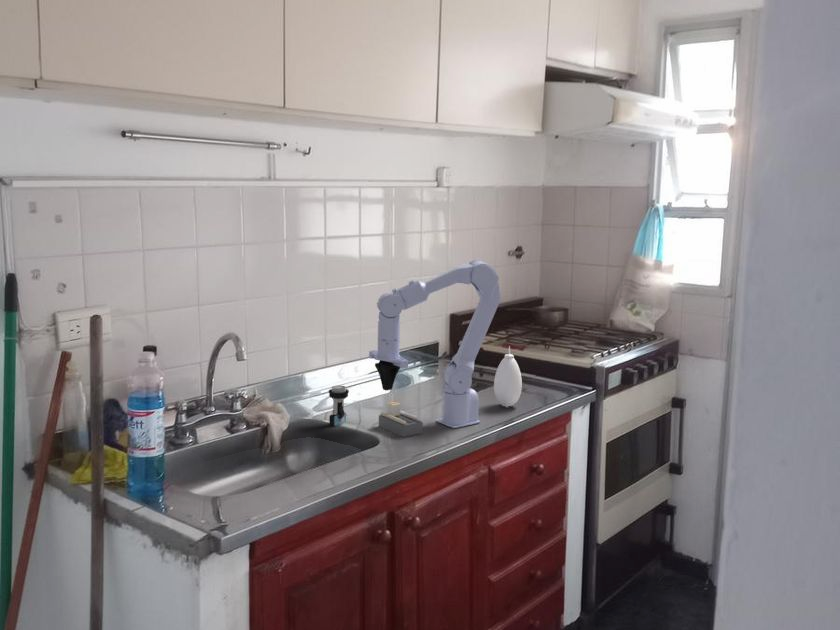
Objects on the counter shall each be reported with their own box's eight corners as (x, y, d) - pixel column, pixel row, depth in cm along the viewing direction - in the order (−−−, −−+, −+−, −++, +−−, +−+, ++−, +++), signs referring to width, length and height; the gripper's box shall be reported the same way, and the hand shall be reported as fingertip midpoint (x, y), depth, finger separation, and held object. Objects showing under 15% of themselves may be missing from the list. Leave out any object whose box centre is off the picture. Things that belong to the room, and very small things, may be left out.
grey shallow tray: (397, 422, 218) (397, 408, 218) (422, 433, 210) (422, 418, 209) (378, 426, 215) (378, 411, 214) (403, 437, 206) (404, 422, 206)
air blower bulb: (525, 408, 235) (528, 347, 232) (504, 411, 231) (506, 349, 228) (509, 401, 242) (512, 342, 239) (488, 404, 238) (490, 344, 235)
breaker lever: (394, 412, 216) (394, 401, 215) (400, 414, 214) (400, 403, 214) (387, 414, 214) (387, 402, 214) (392, 416, 213) (392, 404, 212)
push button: (339, 418, 221) (339, 382, 219) (355, 421, 218) (355, 385, 217) (324, 424, 215) (324, 387, 214) (340, 427, 213) (341, 390, 211)
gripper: (360, 335, 216) (359, 385, 218) (393, 345, 205) (391, 397, 207) (381, 333, 220) (380, 382, 223) (415, 342, 209) (413, 393, 212)
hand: (387, 389), depth 215 cm, fingers closed
